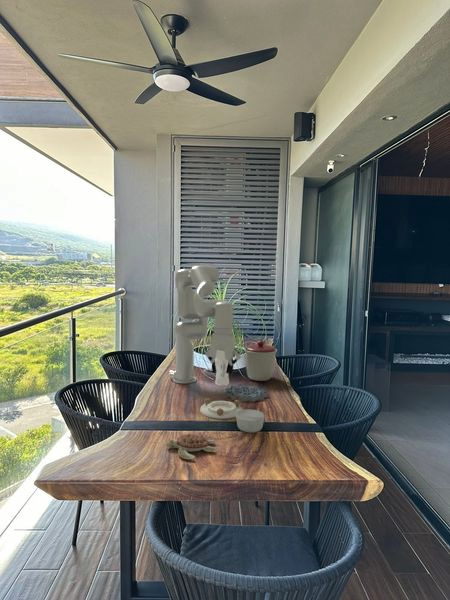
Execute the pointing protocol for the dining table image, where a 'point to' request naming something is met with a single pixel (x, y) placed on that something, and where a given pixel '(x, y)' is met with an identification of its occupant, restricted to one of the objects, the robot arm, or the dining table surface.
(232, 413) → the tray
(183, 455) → the decorative turtle
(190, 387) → the dining table surface
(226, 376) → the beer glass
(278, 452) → the dining table surface
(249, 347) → the canister
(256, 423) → the ramekin
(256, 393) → the decorative tile
